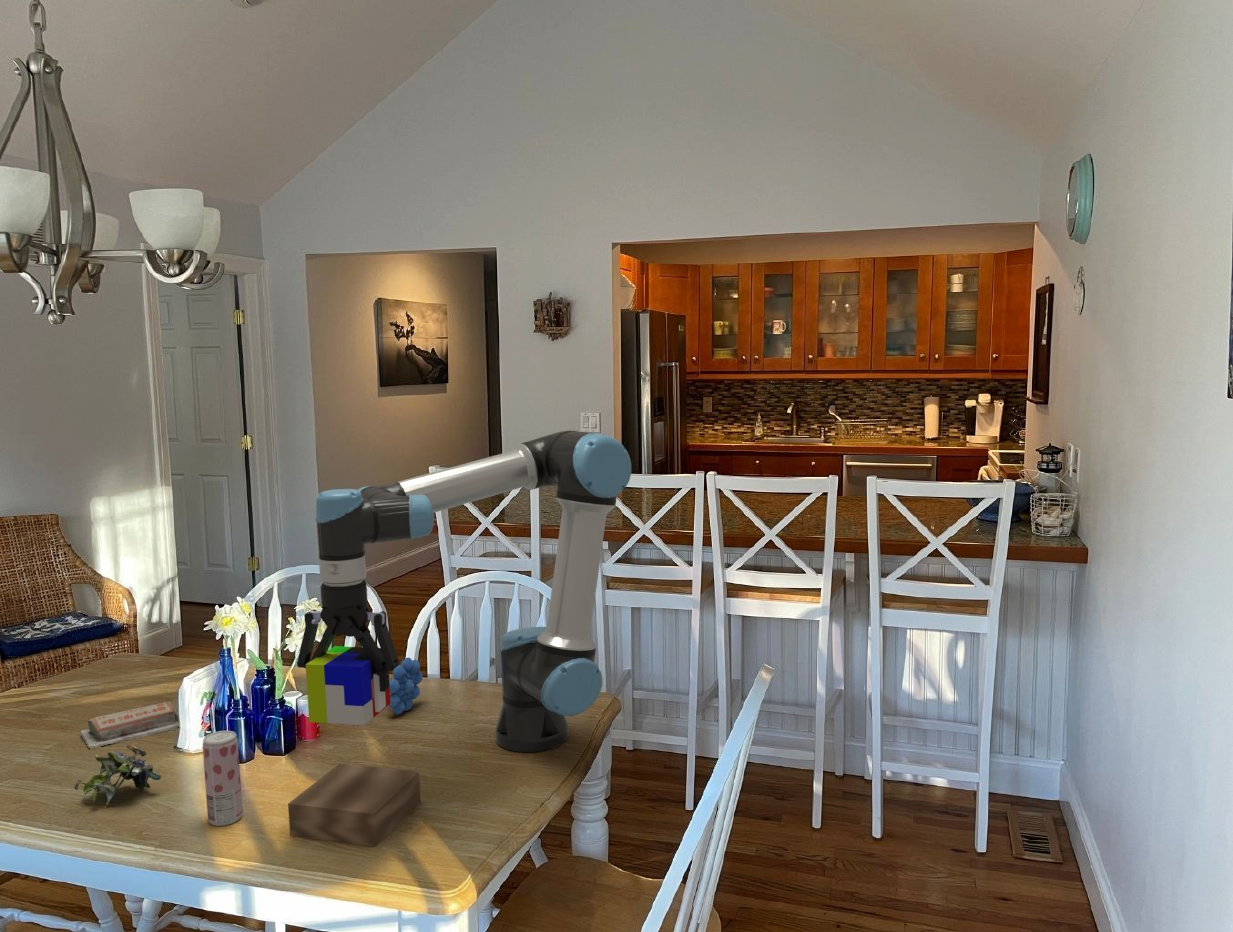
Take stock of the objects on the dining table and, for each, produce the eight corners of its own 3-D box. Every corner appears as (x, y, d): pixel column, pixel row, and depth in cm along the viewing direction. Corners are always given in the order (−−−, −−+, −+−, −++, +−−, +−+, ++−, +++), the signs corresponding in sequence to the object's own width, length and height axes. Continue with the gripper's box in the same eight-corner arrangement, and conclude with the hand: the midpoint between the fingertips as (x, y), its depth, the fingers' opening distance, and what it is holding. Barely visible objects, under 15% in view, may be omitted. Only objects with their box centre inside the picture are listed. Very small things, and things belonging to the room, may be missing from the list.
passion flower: (141, 816, 179) (176, 765, 178) (99, 834, 168) (136, 780, 167) (100, 778, 181) (134, 728, 180) (56, 794, 170) (92, 740, 170)
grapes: (406, 699, 222) (404, 649, 220) (430, 703, 219) (428, 652, 218) (374, 717, 211) (371, 664, 210) (398, 721, 209) (396, 668, 207)
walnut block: (420, 803, 171) (419, 771, 170) (375, 848, 156) (373, 813, 155) (341, 794, 175) (339, 763, 174) (290, 837, 160) (288, 803, 159)
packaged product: (168, 695, 215) (180, 708, 207) (170, 716, 216) (182, 729, 208) (78, 716, 204) (87, 729, 196) (80, 737, 204) (89, 752, 197)
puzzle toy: (364, 725, 158) (361, 667, 156) (309, 721, 160) (305, 664, 158) (390, 703, 167) (387, 648, 166) (338, 700, 169) (335, 645, 168)
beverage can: (248, 810, 169) (242, 729, 167) (236, 826, 163) (230, 742, 162) (215, 811, 169) (209, 730, 167) (202, 827, 163) (196, 743, 161)
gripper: (269, 585, 159) (278, 713, 162) (398, 588, 155) (405, 718, 158) (291, 574, 166) (299, 697, 169) (415, 577, 162) (421, 702, 165)
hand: (350, 707), depth 163 cm, fingers closed on puzzle toy, 10 cm apart
